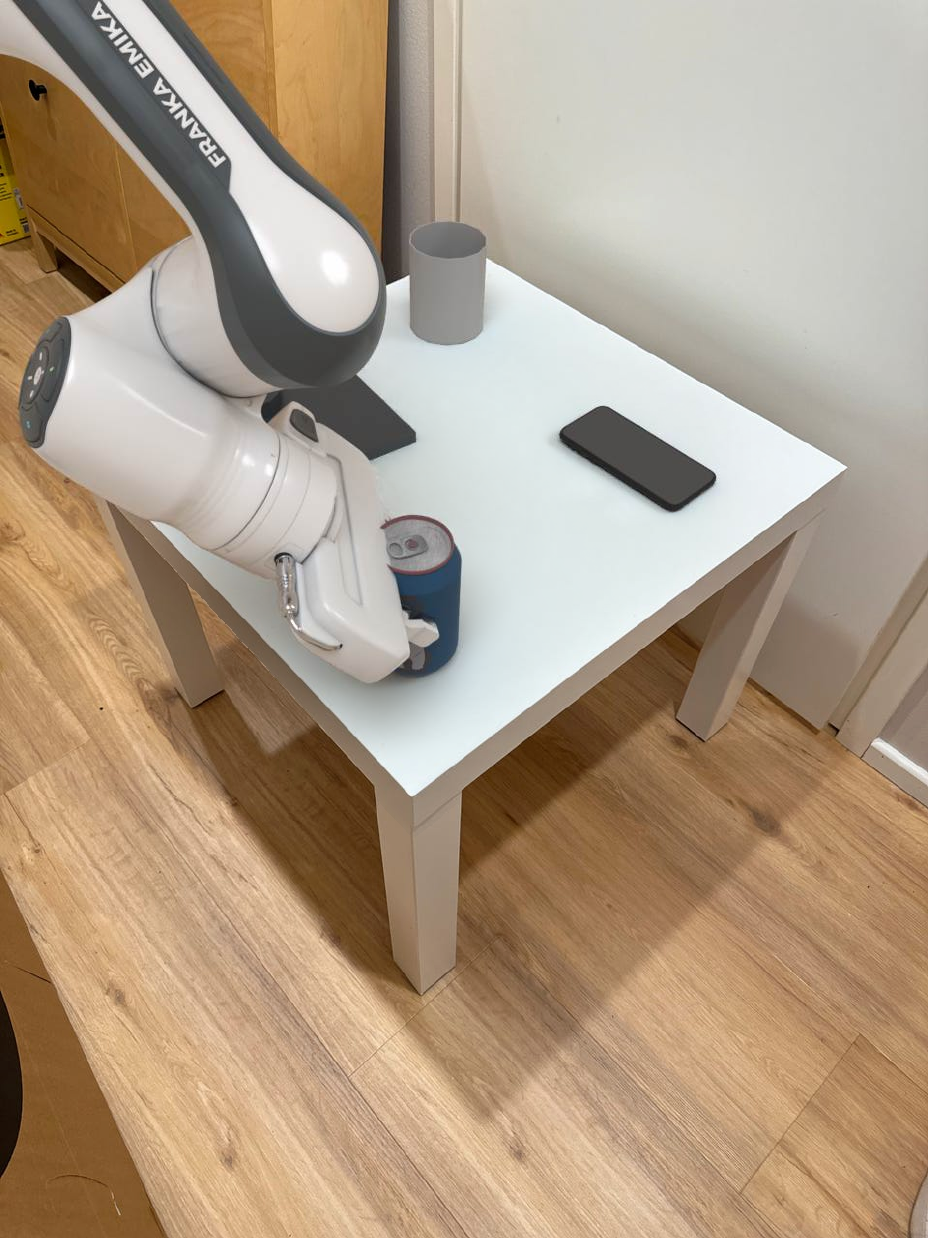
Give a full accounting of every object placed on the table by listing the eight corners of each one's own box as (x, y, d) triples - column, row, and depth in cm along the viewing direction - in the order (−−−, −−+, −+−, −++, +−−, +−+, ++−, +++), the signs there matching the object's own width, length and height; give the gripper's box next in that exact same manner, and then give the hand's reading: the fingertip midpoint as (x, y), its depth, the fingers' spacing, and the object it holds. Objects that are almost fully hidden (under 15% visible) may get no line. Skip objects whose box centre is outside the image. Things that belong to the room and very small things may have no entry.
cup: (399, 312, 105) (397, 228, 98) (463, 298, 108) (466, 215, 100) (428, 351, 100) (428, 265, 93) (495, 335, 103) (500, 250, 95)
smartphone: (675, 510, 84) (554, 431, 90) (673, 517, 84) (553, 438, 91) (722, 474, 87) (602, 401, 94) (719, 482, 88) (601, 408, 94)
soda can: (437, 607, 76) (440, 499, 67) (471, 668, 72) (478, 562, 63) (359, 631, 74) (350, 522, 65) (389, 695, 70) (384, 589, 61)
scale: (280, 496, 84) (276, 471, 82) (205, 406, 93) (200, 381, 90) (416, 441, 90) (416, 416, 88) (334, 361, 99) (332, 337, 96)
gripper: (318, 599, 51) (480, 680, 60) (294, 385, 64) (430, 478, 73) (249, 658, 54) (414, 728, 63) (239, 441, 67) (377, 525, 76)
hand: (422, 592), depth 68 cm, fingers closed on soda can, 7 cm apart
